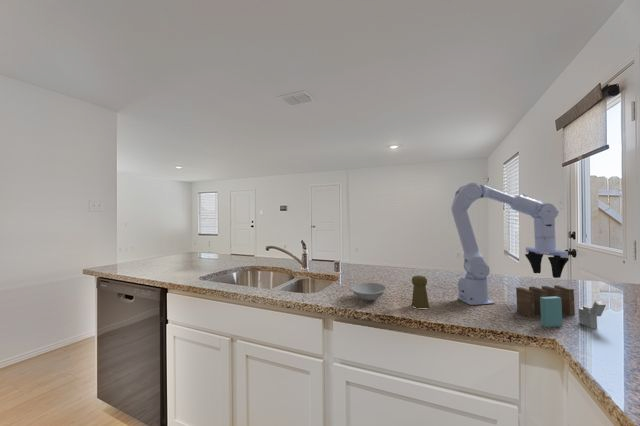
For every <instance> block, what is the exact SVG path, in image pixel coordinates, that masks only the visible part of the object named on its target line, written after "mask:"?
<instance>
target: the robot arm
mask: <svg viewBox="0 0 640 426" xmlns="http://www.w3.org/2000/svg"><path fill="white" fill-rule="evenodd" d="M453 198H454V199H453V201H452V204H451V213H452V216H453V220H454V223H455V227H456V230H457V233H458V237H459V240H460V243H461V246H462V247H461V248H462V250H463V269H464V270H465V272H466V273H465V276H464V277H461V278H459V280H458V284H457V285H458V287H457V288H458V297H457V300H460V301H461V302H463V303H465V304H467V305H469V306H474V305H486V304H487V305H491V304H495V303H496V302H495V301H492V300H490V299H489V279H488V278H489V277H488V276H489V275H490V272H491V271H490V270H491V269H490V267H489V265H488V264H487V263H486V262H485V259H484V257H483V255H482V253H481V252H480V250H479V246H478V244H477V240H476V236H475V233H474V230H473V227H472V224H471V220H470V216H469V213H468V210H469V208H470V207H471V206H472V204H473V203H474V202H476V201H477V200H478V199H485V198H486V199H490V200H494V201H497V202H499V203H502V204H506V205H509V207H510V208H511V210H514V211H516V212H519V213H522V214H525V215H527V216H530V217H531V218H533V229H534V247H531V246H527V247H525V254H524V255H525V257H526V259H527V260H528V261H529V264H530V265H531V269H532V272H533V273H534V274H541V272H542V260H543V257H544V255H545V256H547V259H548V260H549V263H550V266H551V274H552V275H551V276H552V278H554V279H559V278H561V277H562V272H563V269H564V267H565V265H566V264H567V262H568V261H569V260H570V259H569V251H565V250H560V249H558V248H557V246H556V245H557V244H556V220H555V219H556V218H557V217H558V215H559V210H557V207H556V206H555V205H554V204H553V203H550V202H547V203H545V202H544V203H543V200H540V199H537V200H536V199H533V198H530V197H529V196H528V195H527V194H518V195H515V196H514V195H512V194H509V193H506V192H504V191H501V190H498V189H495V188H493V187H489V186H487V185H485V184H478V183H477V182H470V183H467V184H465V185H462V186H460V187H459V188H458V190H456V192H455V193H454V197H453Z"/></svg>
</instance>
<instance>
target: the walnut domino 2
mask: <svg viewBox="0 0 640 426" xmlns="http://www.w3.org/2000/svg"><path fill="white" fill-rule="evenodd" d="M528 290H531V291H534V308H535V315H536V314H537V315H539V316H541V308H540V297H547V290H543V289H542V288H540V287H536V286H528Z"/></svg>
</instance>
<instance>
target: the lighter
mask: <svg viewBox="0 0 640 426" xmlns="http://www.w3.org/2000/svg"><path fill="white" fill-rule="evenodd" d="M606 306H607V305H606V304H605V303H604V302H603V301H600V300H597V301H594V303H593V304H592V306H589V305H582V307H578V322H579V323H580V324H581V325H584V326H586V327H587V328H589V329H598V318H597V317H602V315H603V313H604V311H605V308H606Z"/></svg>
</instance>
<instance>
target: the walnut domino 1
mask: <svg viewBox="0 0 640 426" xmlns="http://www.w3.org/2000/svg"><path fill="white" fill-rule="evenodd" d="M515 291H516V295H515V296H516V312H517V313H519V314H521V315H523V316H526V317H527V318H536V313H535V308H534V291H531V290H529V288H528V289H527V288H524V287H516V288H515Z"/></svg>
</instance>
